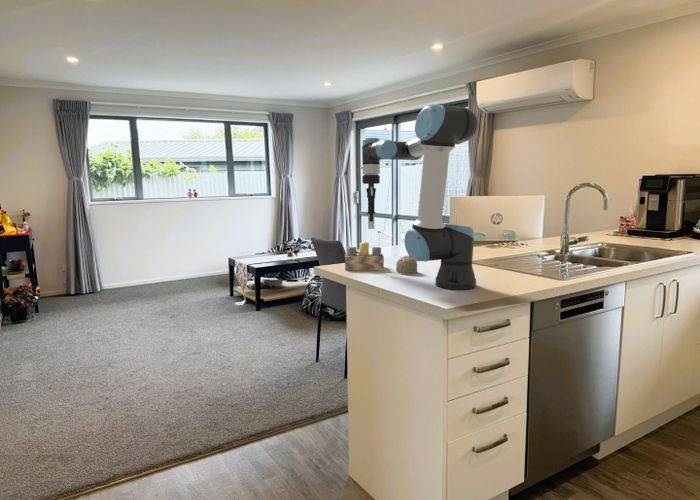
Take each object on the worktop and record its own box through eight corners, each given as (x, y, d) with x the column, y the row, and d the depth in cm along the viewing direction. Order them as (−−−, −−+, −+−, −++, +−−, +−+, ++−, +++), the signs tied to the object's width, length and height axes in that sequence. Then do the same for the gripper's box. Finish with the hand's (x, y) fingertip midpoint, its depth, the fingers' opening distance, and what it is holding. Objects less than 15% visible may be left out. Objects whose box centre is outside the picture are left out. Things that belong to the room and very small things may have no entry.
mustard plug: (370, 263, 209) (370, 243, 207) (362, 263, 207) (362, 243, 206) (365, 261, 212) (366, 242, 211) (358, 262, 211) (358, 242, 209)
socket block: (382, 266, 214) (382, 253, 213) (383, 270, 206) (383, 256, 205) (345, 266, 214) (345, 253, 213) (344, 270, 206) (345, 256, 205)
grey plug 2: (382, 267, 209) (382, 248, 208) (374, 268, 207) (374, 248, 206) (377, 266, 213) (378, 246, 211) (370, 267, 211) (370, 247, 209)
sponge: (403, 283, 198) (416, 266, 193) (388, 269, 202) (399, 251, 197) (414, 280, 205) (426, 263, 201) (399, 265, 209) (411, 248, 204)
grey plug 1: (357, 267, 209) (357, 247, 208) (349, 268, 207) (349, 248, 206) (353, 266, 213) (353, 246, 211) (345, 266, 211) (345, 247, 210)
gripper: (361, 175, 210) (362, 227, 213) (362, 174, 197) (363, 230, 200) (378, 175, 210) (378, 227, 213) (380, 174, 197) (380, 229, 200)
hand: (371, 228), depth 206 cm, fingers closed
